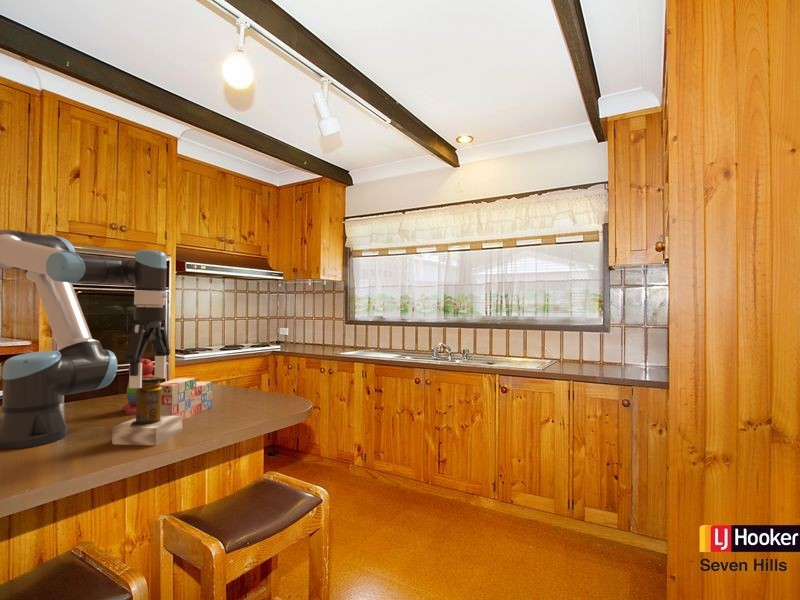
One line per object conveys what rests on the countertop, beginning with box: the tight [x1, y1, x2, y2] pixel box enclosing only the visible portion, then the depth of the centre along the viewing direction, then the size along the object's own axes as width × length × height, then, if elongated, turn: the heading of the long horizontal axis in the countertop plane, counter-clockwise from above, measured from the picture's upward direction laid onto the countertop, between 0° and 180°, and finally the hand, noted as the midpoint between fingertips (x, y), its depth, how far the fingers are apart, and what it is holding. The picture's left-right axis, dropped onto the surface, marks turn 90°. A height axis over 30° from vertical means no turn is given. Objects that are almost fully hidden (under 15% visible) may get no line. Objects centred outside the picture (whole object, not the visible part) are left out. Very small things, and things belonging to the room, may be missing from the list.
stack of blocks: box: [160, 377, 213, 421], centre depth 140 cm, size 21×6×12 cm, turn 172°
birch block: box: [111, 415, 183, 446], centre depth 116 cm, size 12×12×5 cm
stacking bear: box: [122, 357, 155, 416], centre depth 146 cm, size 11×10×18 cm
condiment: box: [130, 377, 164, 427], centre depth 115 cm, size 7×8×12 cm
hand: (148, 382), depth 117 cm, fingers open, 13 cm apart
